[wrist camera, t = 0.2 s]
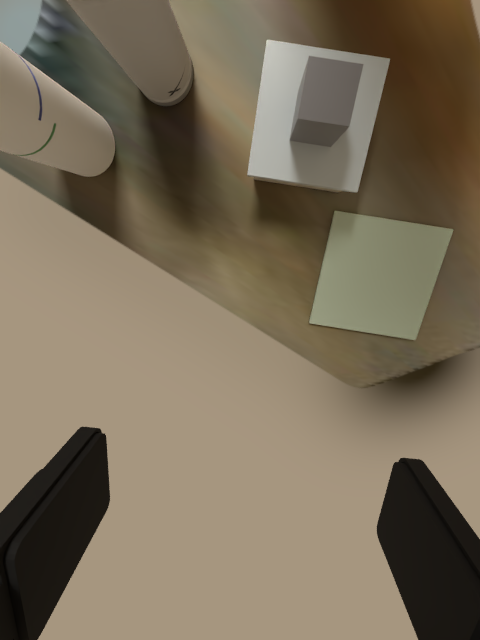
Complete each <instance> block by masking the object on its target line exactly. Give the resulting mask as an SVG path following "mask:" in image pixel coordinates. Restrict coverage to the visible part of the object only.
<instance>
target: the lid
mask: <svg viewBox="0 0 480 640" xmlns="http://www.w3.org/2000/svg"><path fill="white" fill-rule="evenodd" d="M389 62H390V59H389V58H383V57H376V56H370V55H363V54H357V53H350V52H344V51H337V50H331V49H325V48H318V47H312V46H305V45H299V44H292V43H286V42H279V41H273V40H267V43H266V50H265V56H264V63H263V70H262V77H261V84H260V91H259V98H258V105H257V112H256V119H255V126H254V132H253V139H252V146H251V153H250V160H249V167H248V174H247V176H250V177H257V178H263V179H269V180H276V181H282V182H288V183H295V184H301V185H307V186H314V187H320V188H326V189H333V190H339V191H345V192H352V193H356V192H358V188H359V184H360V180H361V176H362V172H363V168H364V164H365V160H366V156H367V152H368V148H369V144H370V139H371V135H372V131H373V127H374V123H375V119H376V115H377V111H378V107H379V103H380V99H381V95H382V91H383V87H384V82H385V78H386V74H387V70H388V66H389Z"/></svg>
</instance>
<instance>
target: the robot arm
mask: <svg viewBox="0 0 480 640" xmlns="http://www.w3.org/2000/svg"><path fill="white" fill-rule="evenodd" d="M109 501H110V491H109V475H108V459H107V444H106V435H105V434H103V433H102V432H101V430H100V429H99V428H90V427H81V428H80V429H78V430H77V432H76V433H75V434H74V435H73V436H72V437H71V438H70V439H69V440H68V441H67V443H66V444H65V445H64V446H63V447H62V448H61V449H60V450H59V452H58V453H57V454H56V455H55V456H54V457H53V458H52V459H51V460H50V462H49V463H48V464H47V465H46V466H45V467H44V468H43V469H41V470H40V471H39V472H38V473H36V475H34V477H33V478H32V479H31V480H30V481H29V482H28V483H27V484H26V485H25V486H24V488H23V489H22V490H21V491H20V492H19V493H18V494H17V495H16V496H15V498H14V499H13V500H12V501H11V502H10V503H9V504H8V505H7V506H6V507H5V509H4V510H3V511H2V512H1V513H0V640H37V639H38V638H39V636H40V635H41V633H42V631H43V629H44V627H45V625H46V623H47V621H48V620H49V618H50V616H51V614H52V612H53V610H54V608H55V606H56V605H57V603H58V601H59V599H60V597H61V595H62V593H63V591H64V590H65V588H66V586H67V584H68V582H69V580H70V578H71V576H72V574H73V573H74V570H75V569H76V567H77V565H78V563H79V561H80V560H81V557H82V556H83V554H84V552H85V550H86V548H87V546H88V544H89V543H90V541H91V539H92V537H93V535H94V533H95V531H96V529H97V528H98V526H99V524H100V522H101V520H102V518H103V516H104V515H105V513H106V511H107V508H108V506H109ZM377 535H378V538H379V542H380V544H381V547H382V549H383V551H384V554H385V556H386V559H387V561H388V564H389V567H390V569H391V572H392V574H393V577H394V579H395V582H396V584H397V587H398V589H399V592H400V594H401V597H402V600H403V602H404V604H405V607H406V609H407V612H408V614H409V617H410V620H411V622H412V625H413V627H414V630H415V632H416V635H417V637H418V640H480V539H479V538H478V537H477V535H476V534H475V532H474V531H473V529H472V528H471V527H470V525H469V524H468V523H467V521H466V520H465V518H464V517H463V516H462V514H461V513H460V511H459V510H458V509H457V507H456V506H455V505H454V503H453V502H452V500H451V499H450V498H449V496H448V495H447V493H446V492H445V491H444V489H443V488H442V487H441V485H440V484H439V482H438V481H437V480H436V478H435V477H434V476H433V474H432V473H431V471H430V470H429V469H428V468H427V466H426V465H425V463H424V462H423V461H422V460H419V459H409V458H401V459H400V460H399V462H395V463H394V465H393V468H392V472H391V476H390V480H389V483H388V487H387V490H386V494H385V498H384V501H383V505H382V509H381V513H380V516H379V520H378V524H377Z"/></svg>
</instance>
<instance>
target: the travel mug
mask: <svg viewBox="0 0 480 640" xmlns="http://www.w3.org/2000/svg"><path fill="white" fill-rule="evenodd" d="M66 1H67V2H68V3H69V4H70V6H71V7H72V8H73V9H74V11H75V12H76V13H77V14H78V15H79V17H80V18H81V19H82V20H83V21H84V23H85V24H86V25H87V26H88V27H89V29H90V30H91V31H92V32H93V33H94V35H95V36H96V37H97V38H98V40H99V41H100V42H101V43H102V44H103V46H104V47H105V48H106V49H107V50H108V52H109V53H110V54H111V55H112V56H113V58H114V59H115V60H116V61H117V62H118V64H119V65H120V66H121V67H122V69H123V70H124V71H125V72H126V73H127V75H128V76H129V77H130V78H131V79H132V81H133V82H134V83H135V84H136V85H137V87H138V88H139V89H140V90H141V91H142V93H143V94H144V95H145V96H146V97H147V98H148V99H149V100H150V101H152V102H153V103H155V104H157V105H160V106H172V105H175V104H177V103H179V102H181V101H182V100H183V99H184V98H185V97H186V95H187V94H188V93H189V90H190V88H191V86H192V82H193V65H192V61H191V58H190V55H189V53H188V50H187V47H186V45H185V42H184V40H183V37H182V34H181V32H180V29H179V26H178V24H177V21H176V19H175V16H174V13H173V11H172V8H171V6H170V3H169V0H66Z"/></svg>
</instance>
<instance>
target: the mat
mask: <svg viewBox="0 0 480 640" xmlns="http://www.w3.org/2000/svg"><path fill="white" fill-rule="evenodd" d="M453 230H454V229H448V228H442V227H436V226H429V225H423V224H417V223H410V222H404V221H398V220H391V219H385V218H379V217H372V216H366V215H360V214H353V213H347V212H341V211H334V214H333V219H332V223H331V228H330V232H329V236H328V241H327V245H326V249H325V254H324V258H323V263H322V267H321V271H320V276H319V280H318V284H317V289H316V293H315V297H314V302H313V306H312V311H311V315H310V319H309V323H311V324H317V325H323V326H330V327H336V328H342V329H348V330H355V331H361V332H367V333H373V334H380V335H386V336H392V337H398V338H405V339H411V340H416V338H417V335H418V332H419V329H420V326H421V323H422V320H423V317H424V314H425V311H426V308H427V306H428V303H429V300H430V297H431V294H432V291H433V288H434V285H435V282H436V279H437V276H438V274H439V271H440V268H441V265H442V262H443V259H444V256H445V253H446V250H447V247H448V244H449V241H450V239H451V236H452V233H453Z"/></svg>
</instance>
